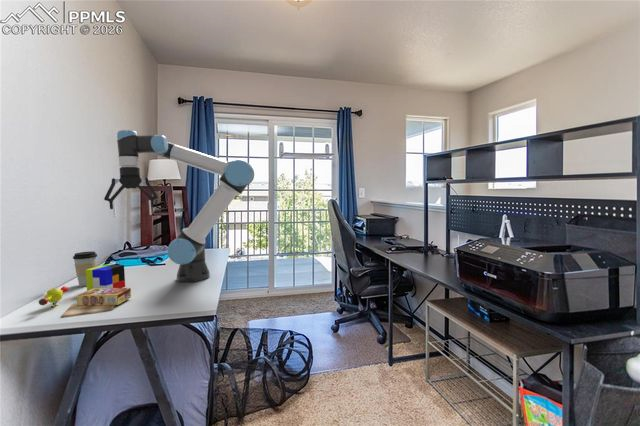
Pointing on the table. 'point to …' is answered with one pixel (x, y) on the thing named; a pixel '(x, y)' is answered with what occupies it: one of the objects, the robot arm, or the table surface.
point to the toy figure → (53, 296)
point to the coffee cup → (84, 265)
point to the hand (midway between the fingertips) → (133, 215)
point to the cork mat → (86, 309)
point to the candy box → (104, 296)
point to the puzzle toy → (105, 277)
